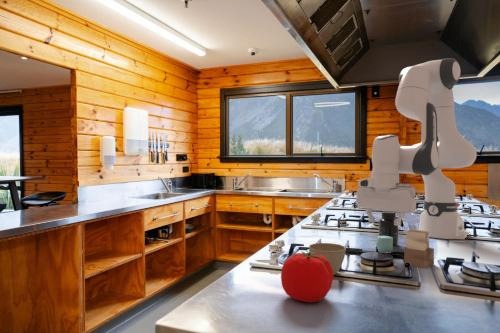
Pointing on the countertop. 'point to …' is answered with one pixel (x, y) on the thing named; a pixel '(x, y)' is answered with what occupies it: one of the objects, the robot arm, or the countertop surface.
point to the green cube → (385, 244)
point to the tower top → (417, 239)
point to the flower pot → (330, 253)
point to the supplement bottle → (388, 226)
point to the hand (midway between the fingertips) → (384, 223)
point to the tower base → (419, 257)
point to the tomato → (307, 277)
